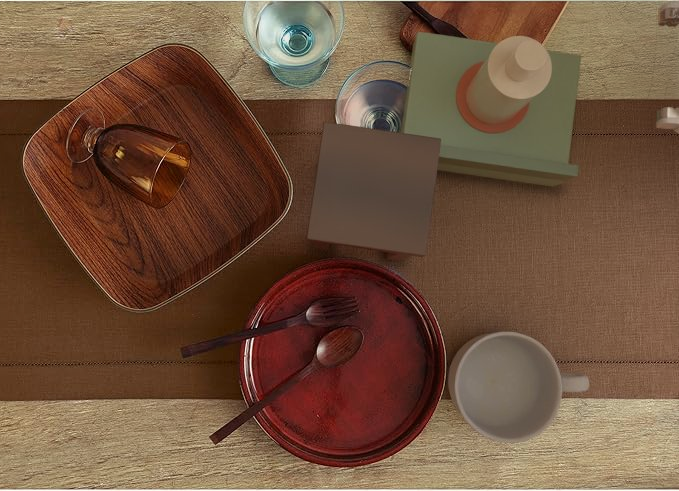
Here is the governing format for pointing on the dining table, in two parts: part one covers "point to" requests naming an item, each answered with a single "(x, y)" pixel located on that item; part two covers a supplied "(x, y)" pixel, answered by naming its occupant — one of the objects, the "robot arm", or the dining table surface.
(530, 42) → the bottle
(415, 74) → the green block orange circle
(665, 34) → the dining table surface
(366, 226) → the stand
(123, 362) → the dining table surface
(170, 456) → the dining table surface
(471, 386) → the teacup
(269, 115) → the dining table surface
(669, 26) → the robot arm
